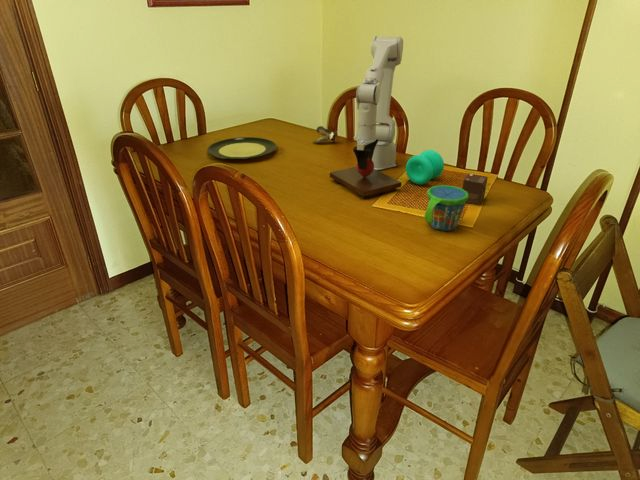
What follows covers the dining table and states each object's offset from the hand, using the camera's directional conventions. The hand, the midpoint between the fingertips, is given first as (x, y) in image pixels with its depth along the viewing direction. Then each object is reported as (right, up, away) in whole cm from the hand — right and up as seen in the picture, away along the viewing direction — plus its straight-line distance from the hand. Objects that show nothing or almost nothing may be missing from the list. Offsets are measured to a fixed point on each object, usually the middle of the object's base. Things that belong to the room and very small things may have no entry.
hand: (365, 165), depth 148 cm
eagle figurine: (-8, +19, +44) cm, 48 cm away
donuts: (+21, -5, +7) cm, 22 cm away
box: (+33, -12, -7) cm, 36 cm away
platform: (0, -6, +4) cm, 7 cm away
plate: (-46, +11, +35) cm, 59 cm away
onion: (0, -4, +2) cm, 4 cm away
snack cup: (+19, -21, -22) cm, 36 cm away
